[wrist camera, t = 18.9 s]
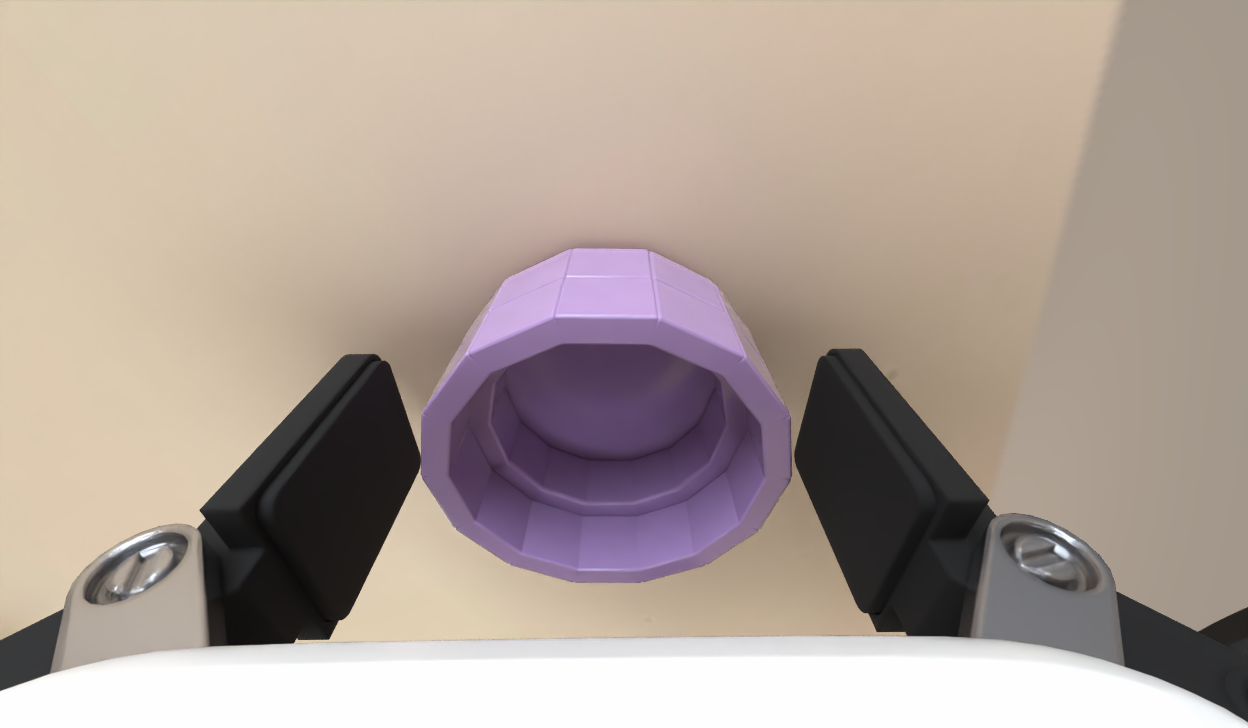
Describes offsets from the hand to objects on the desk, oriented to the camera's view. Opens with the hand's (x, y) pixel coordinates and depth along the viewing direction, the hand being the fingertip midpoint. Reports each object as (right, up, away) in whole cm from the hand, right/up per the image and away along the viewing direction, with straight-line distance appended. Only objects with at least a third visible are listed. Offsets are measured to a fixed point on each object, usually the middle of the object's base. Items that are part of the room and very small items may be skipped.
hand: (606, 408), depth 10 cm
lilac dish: (0, +1, +1) cm, 1 cm away
